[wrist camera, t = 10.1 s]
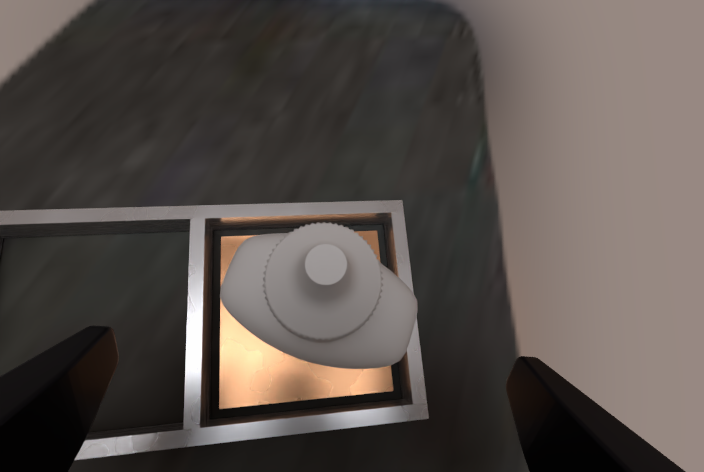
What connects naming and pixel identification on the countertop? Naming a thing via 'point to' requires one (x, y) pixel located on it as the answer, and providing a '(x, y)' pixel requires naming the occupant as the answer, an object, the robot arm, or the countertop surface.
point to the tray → (236, 341)
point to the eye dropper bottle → (320, 297)
